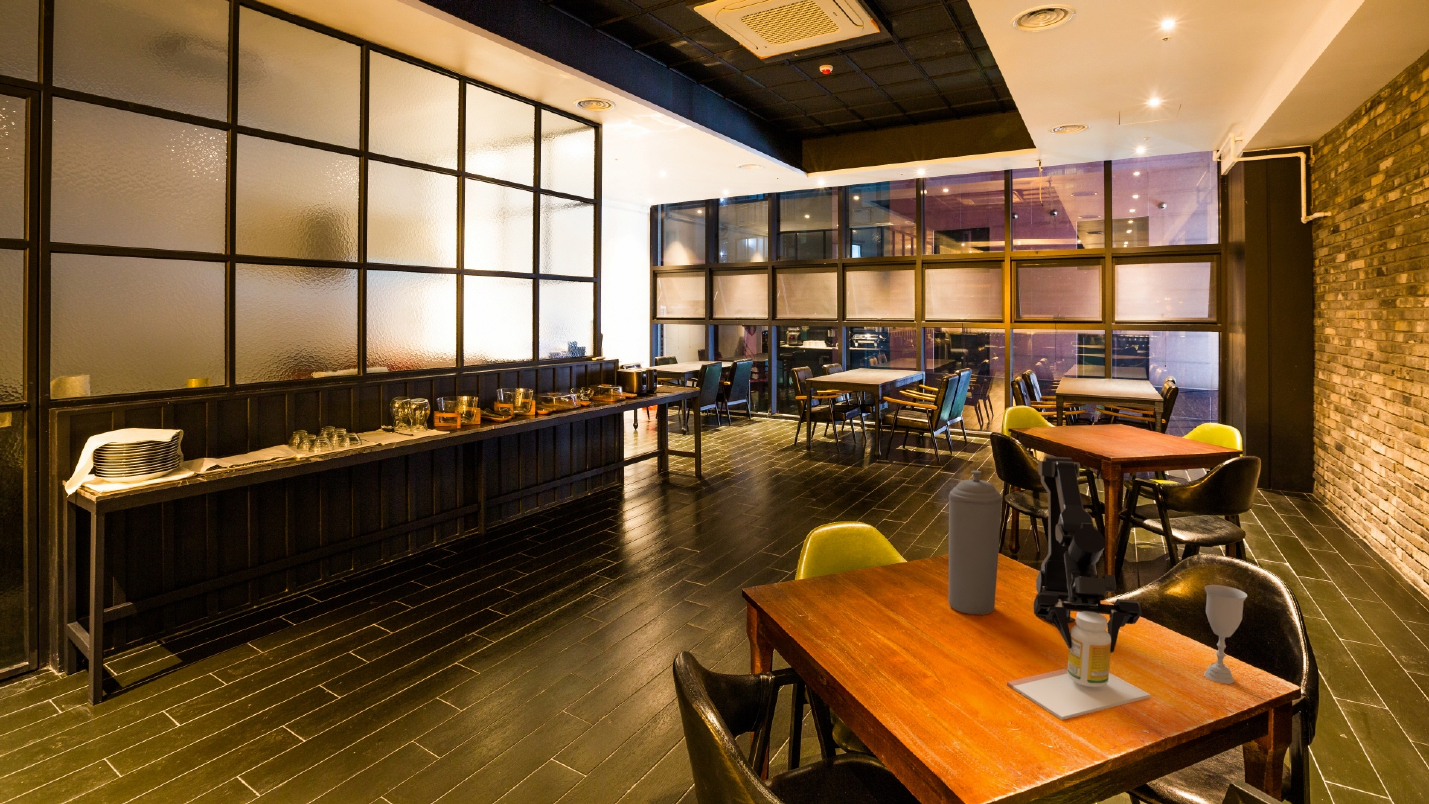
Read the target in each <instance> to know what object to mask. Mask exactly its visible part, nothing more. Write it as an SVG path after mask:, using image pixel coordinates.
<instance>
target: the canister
mask: <svg viewBox="0 0 1429 804" xmlns="http://www.w3.org/2000/svg"><path fill="white" fill-rule="evenodd" d="M970 473H971V474H972V475H973V478H972V479H964V480H961V481H959V483H958V484H956V486H955V487H953V488H952V490H950V492H949V494H948V604H949V606H950V607H951V609H953V610H955V611H958V612H959V613H963V614H967V615H968V614H969V615H975V616H976V615H979V616H980V615H982V616H983V615H987V614H990V613H992V612H994V611H995V608H996V607H995V605H996V590H997V576H998V565H999V564H998V562H999V549H1000V533H1001V532H1000V531H1001V521H1002V520H1001V519H1002V518H1001V517H1002V505H1003V503H1002V502H1004V499H1003V497H1002V496H1003V495H1002V494H1001V493H1000V492H999V490H997V489H996V487H995V485H993V484H992V483H991V482H989V481H986V480H981V479H980V477H979V475H982V471H981V470H971V472H970Z"/></svg>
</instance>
